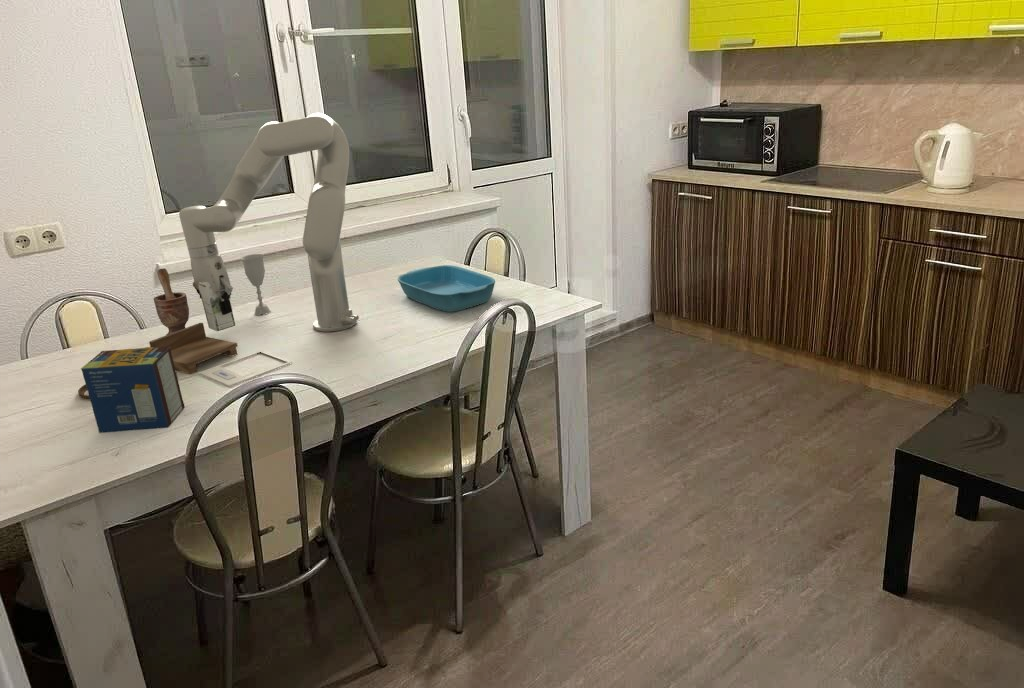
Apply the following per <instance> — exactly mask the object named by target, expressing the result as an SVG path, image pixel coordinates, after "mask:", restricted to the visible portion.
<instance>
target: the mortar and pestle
mask: <svg viewBox="0 0 1024 688" xmlns="http://www.w3.org/2000/svg"><path fill="white" fill-rule="evenodd" d="M156 273H157V277H158V280H159V282H160V284H161V287H162V289H163V292H164V294H160V295H157V296H154V298H153V302H154V306H155V309H156V314H157V316H158V319H159V320H160V322H161V324H162V325H163V326H164V327H166V328H167V329H168V332H167V333H166V334H165V336H166V335H168V334H171V333H174V332H176V331H179V330H182V329H184V328H186V324H187V322H189V318H190V317H189V316H190V308H189V304H188V297H187V293H184V292H180V291H179V292H173V290H172V287H171V281H170V274H169V272H168V270H167V268H159V269H158V270H157V272H156Z"/></svg>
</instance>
